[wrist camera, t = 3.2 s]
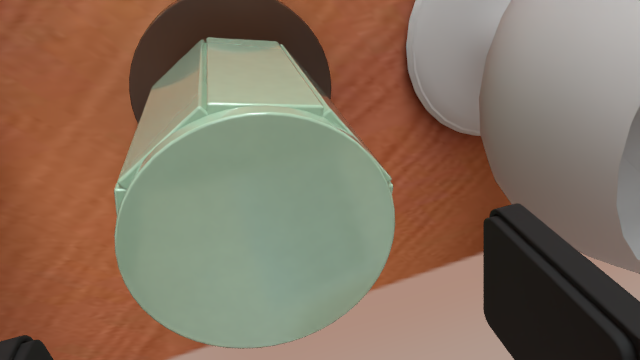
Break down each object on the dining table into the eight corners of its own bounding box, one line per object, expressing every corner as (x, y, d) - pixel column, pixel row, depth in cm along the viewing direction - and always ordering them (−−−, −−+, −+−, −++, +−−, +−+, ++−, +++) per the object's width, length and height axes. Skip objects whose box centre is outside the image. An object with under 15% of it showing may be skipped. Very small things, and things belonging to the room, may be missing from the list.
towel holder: (87, 84, 23) (-45, 244, 11) (235, -62, 22) (274, -66, 9) (232, 205, 28) (253, 413, 16) (361, 93, 26) (496, 224, 14)
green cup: (113, 123, 19) (46, 255, 11) (243, -2, 18) (273, 45, 10) (238, 226, 22) (257, 384, 14) (354, 126, 21) (443, 237, 13)
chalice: (634, 69, 29) (975, 170, 16) (443, 186, 30) (622, 371, 17) (587, -174, 23) (1109, -330, 10) (342, -13, 24) (513, 45, 10)
